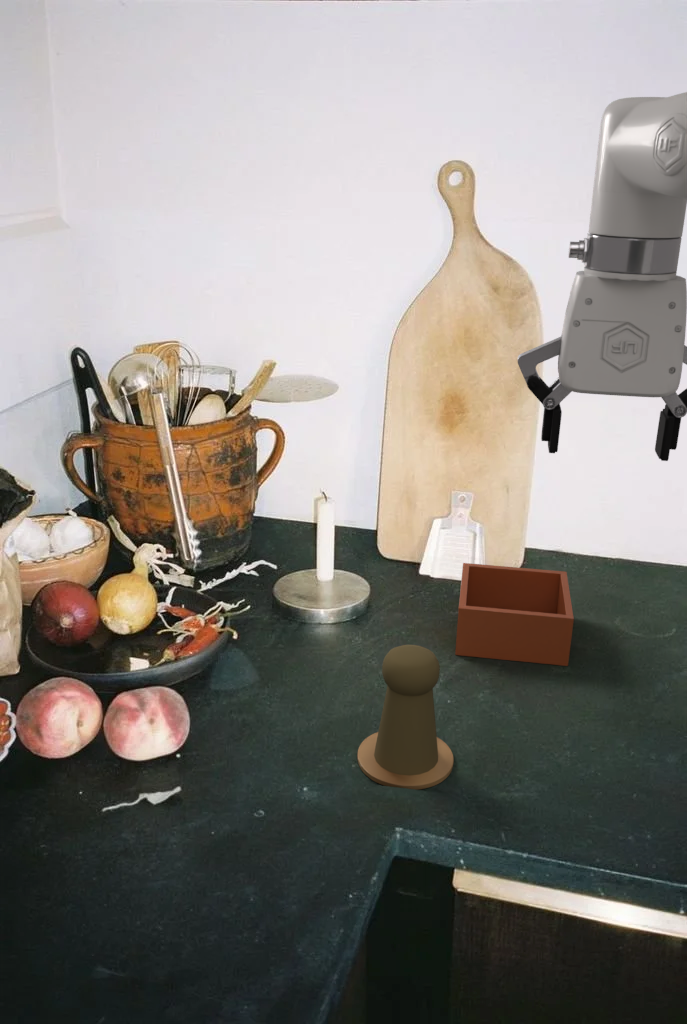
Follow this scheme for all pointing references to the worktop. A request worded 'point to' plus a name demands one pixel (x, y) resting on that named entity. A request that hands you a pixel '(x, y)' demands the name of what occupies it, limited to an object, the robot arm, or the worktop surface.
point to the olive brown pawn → (408, 712)
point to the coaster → (404, 781)
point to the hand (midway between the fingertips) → (606, 452)
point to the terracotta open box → (514, 614)
